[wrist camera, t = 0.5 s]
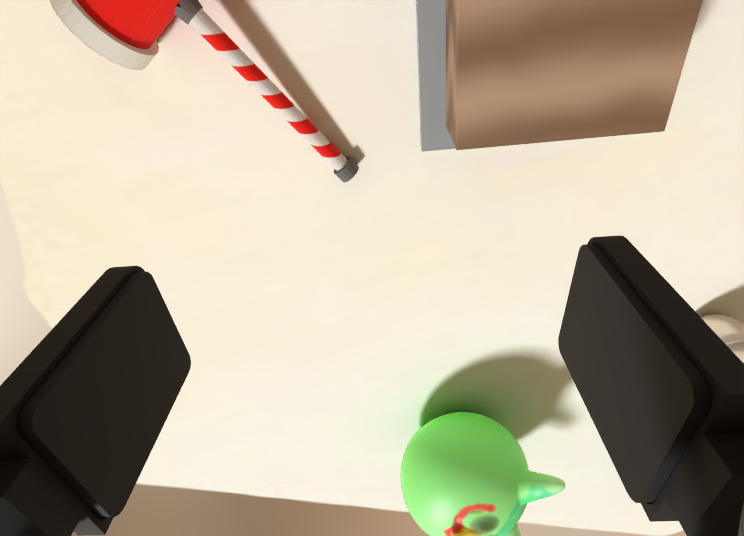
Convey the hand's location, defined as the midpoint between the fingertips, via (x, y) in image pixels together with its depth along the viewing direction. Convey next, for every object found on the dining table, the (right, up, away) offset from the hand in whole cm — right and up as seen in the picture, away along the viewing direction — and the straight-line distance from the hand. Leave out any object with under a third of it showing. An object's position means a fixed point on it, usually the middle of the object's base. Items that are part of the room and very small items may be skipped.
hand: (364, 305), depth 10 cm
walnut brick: (+12, +19, +21) cm, 31 cm away
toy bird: (+12, -22, +50) cm, 56 cm away
